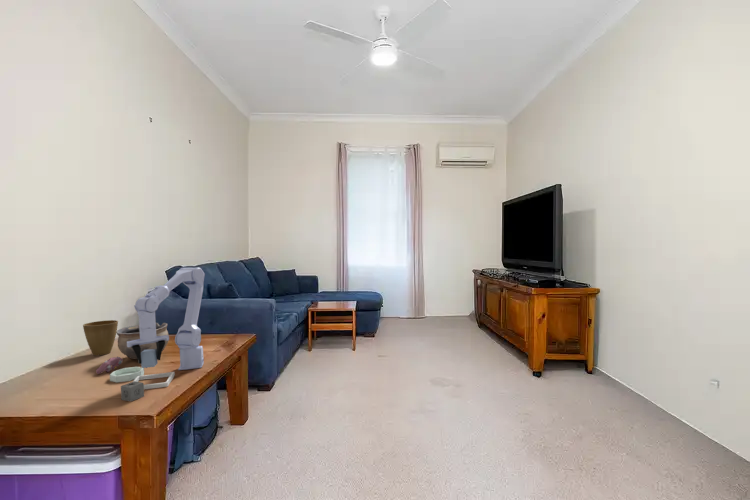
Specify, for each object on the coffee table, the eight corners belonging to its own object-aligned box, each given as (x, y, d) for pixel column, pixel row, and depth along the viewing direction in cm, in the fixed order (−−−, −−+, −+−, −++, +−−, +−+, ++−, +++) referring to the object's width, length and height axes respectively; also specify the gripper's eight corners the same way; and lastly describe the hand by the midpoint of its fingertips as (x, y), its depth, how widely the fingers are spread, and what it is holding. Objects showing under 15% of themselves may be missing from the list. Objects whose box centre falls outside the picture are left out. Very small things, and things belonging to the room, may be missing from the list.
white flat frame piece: (174, 375, 168) (174, 371, 168) (167, 386, 155) (167, 382, 155) (137, 379, 164) (137, 376, 164) (127, 391, 151) (127, 387, 151)
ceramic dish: (146, 371, 175) (146, 365, 175) (138, 379, 164) (138, 373, 164) (116, 374, 172) (116, 368, 172) (106, 383, 161) (106, 377, 161)
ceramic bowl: (178, 354, 201) (177, 324, 200) (133, 366, 182) (131, 333, 182) (154, 349, 212) (152, 320, 212) (109, 360, 194) (107, 329, 194)
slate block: (157, 363, 163) (156, 348, 163) (154, 366, 158) (153, 351, 158) (145, 364, 162) (144, 349, 162) (141, 368, 157) (140, 352, 157)
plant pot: (107, 357, 200) (105, 325, 199) (77, 358, 200) (75, 326, 199) (125, 349, 215) (124, 319, 214) (98, 350, 215) (96, 320, 214)
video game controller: (102, 378, 173) (108, 363, 172) (94, 373, 174) (99, 358, 173) (121, 370, 183) (126, 357, 182) (113, 365, 183) (118, 352, 183)
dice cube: (134, 394, 148) (133, 381, 148) (144, 396, 146) (143, 382, 146) (121, 400, 143) (120, 386, 143) (131, 401, 141) (130, 387, 141)
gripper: (165, 323, 167) (167, 355, 168) (124, 329, 158) (126, 363, 158) (169, 325, 162) (171, 359, 162) (127, 331, 153) (129, 367, 153)
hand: (149, 361), depth 160 cm, fingers closed on slate block, 6 cm apart
